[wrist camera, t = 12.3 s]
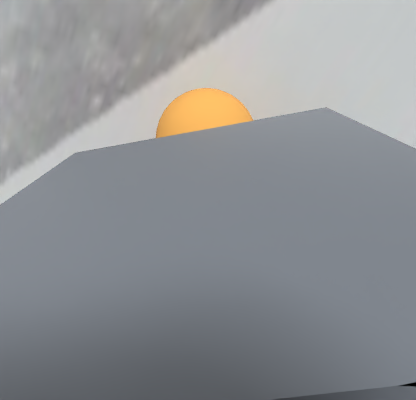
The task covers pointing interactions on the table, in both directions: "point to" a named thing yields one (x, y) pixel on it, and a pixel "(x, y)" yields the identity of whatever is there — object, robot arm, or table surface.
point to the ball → (201, 112)
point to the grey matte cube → (216, 268)
